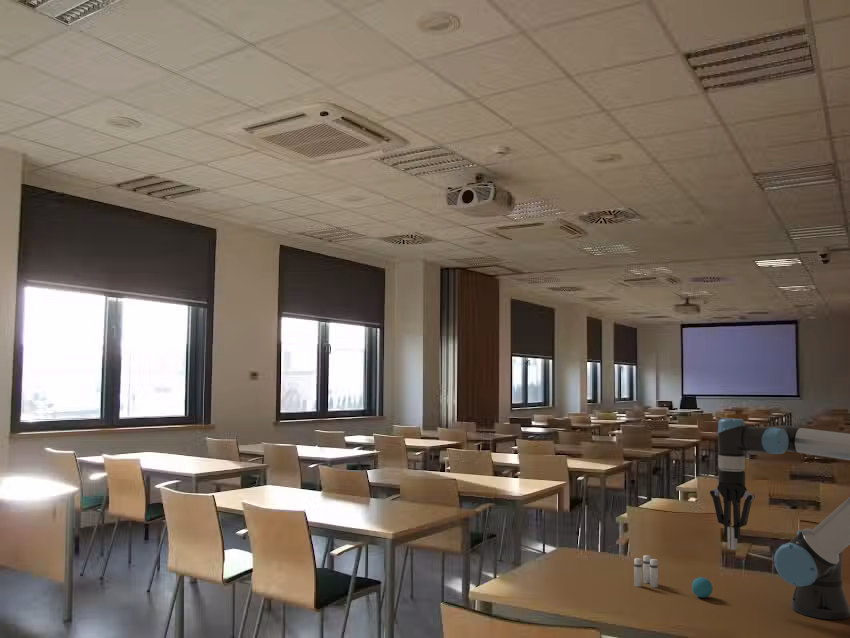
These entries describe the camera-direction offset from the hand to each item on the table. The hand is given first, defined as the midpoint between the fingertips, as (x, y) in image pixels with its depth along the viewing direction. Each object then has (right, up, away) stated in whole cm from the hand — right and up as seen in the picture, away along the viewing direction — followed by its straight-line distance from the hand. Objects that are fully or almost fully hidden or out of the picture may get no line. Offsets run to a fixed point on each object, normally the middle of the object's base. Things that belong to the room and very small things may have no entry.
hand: (732, 548), depth 229 cm
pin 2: (-20, -18, +21) cm, 34 cm away
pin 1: (-24, -17, +17) cm, 34 cm away
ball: (-7, -14, +6) cm, 16 cm away
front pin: (-19, -17, +16) cm, 30 cm away
